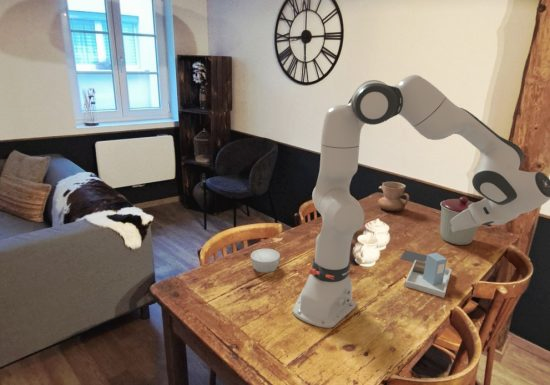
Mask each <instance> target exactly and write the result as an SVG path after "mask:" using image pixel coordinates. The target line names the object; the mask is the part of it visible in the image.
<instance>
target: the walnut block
mask: <svg viewBox="0 0 550 385" xmlns="http://www.w3.org/2000/svg"><path fill="white" fill-rule="evenodd" d="M425 262H426V261H425ZM425 262H421V261H417V260H416V262H415V264H414V268H413V272H417V273H420V274H424V269H425Z"/></svg>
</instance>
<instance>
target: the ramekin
mask: <svg viewBox="0 0 550 385" xmlns="http://www.w3.org/2000/svg"><path fill="white" fill-rule="evenodd" d="M280 259H281V254H280V252H278V250H276V249H272V248H260V249H256V250H253V251H252V252H251V254H250V260H251V264H252V267H253V269H254V270H255V271H257V272H259V273H263V274H264V273H265V274H266V273H267V274H268V273H272V272H274V271H276V269H278V267H279V262H280Z"/></svg>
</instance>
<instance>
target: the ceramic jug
mask: <svg viewBox="0 0 550 385" xmlns="http://www.w3.org/2000/svg"><path fill="white" fill-rule="evenodd" d="M378 190H381V191H382V192H383V195H384V196H382V197H381V198H378V200H377V206H379V208H381V209H382V210H384V211H389V212H399V211H402V210H404V209H405V208H406V206H407V204H408V203H409V201H410V195H409V194H408V193H406V192H405V190H406V184H403V183H401V182H398V181H397V182H396V181H385V182H382V185H380V186H378ZM403 196H405V198H406V199H405V201H404V200H403V199H401V197H403Z"/></svg>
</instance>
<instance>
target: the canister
mask: <svg viewBox="0 0 550 385" xmlns="http://www.w3.org/2000/svg"><path fill="white" fill-rule="evenodd" d="M472 203H475V202H474V201H470V200H469V199H468V197H466V196H461V197H459V198H451V199H450V198H449V199H446V200H443V201H441V202H440V208H441V210H440V227H439V228H440V229H439V230H440V233H439V234H440V236H441V238H442V239H443V241H446V242H447V243H450V244H453V245H458V246H465V245H466V246H467V245H469V244H471V243H472V242H473V240H474V239H475V236H476V233H477V231H478V228H479V226H478V227H472V228H468V229H463V230H459V231H455V232H452V230H451V226H452V225H451V223H450V221H451V219H452V218H453V217H455V216H456V215H458V214H459V213H461V212H462V211H464V210H466V209H468V206H469V205H470V204H472Z"/></svg>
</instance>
